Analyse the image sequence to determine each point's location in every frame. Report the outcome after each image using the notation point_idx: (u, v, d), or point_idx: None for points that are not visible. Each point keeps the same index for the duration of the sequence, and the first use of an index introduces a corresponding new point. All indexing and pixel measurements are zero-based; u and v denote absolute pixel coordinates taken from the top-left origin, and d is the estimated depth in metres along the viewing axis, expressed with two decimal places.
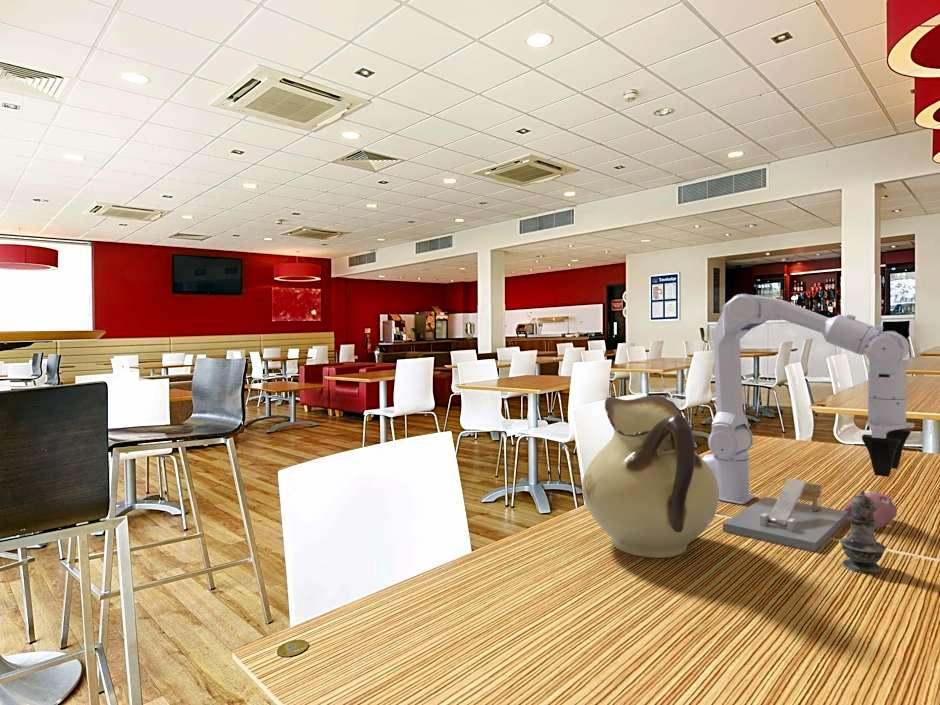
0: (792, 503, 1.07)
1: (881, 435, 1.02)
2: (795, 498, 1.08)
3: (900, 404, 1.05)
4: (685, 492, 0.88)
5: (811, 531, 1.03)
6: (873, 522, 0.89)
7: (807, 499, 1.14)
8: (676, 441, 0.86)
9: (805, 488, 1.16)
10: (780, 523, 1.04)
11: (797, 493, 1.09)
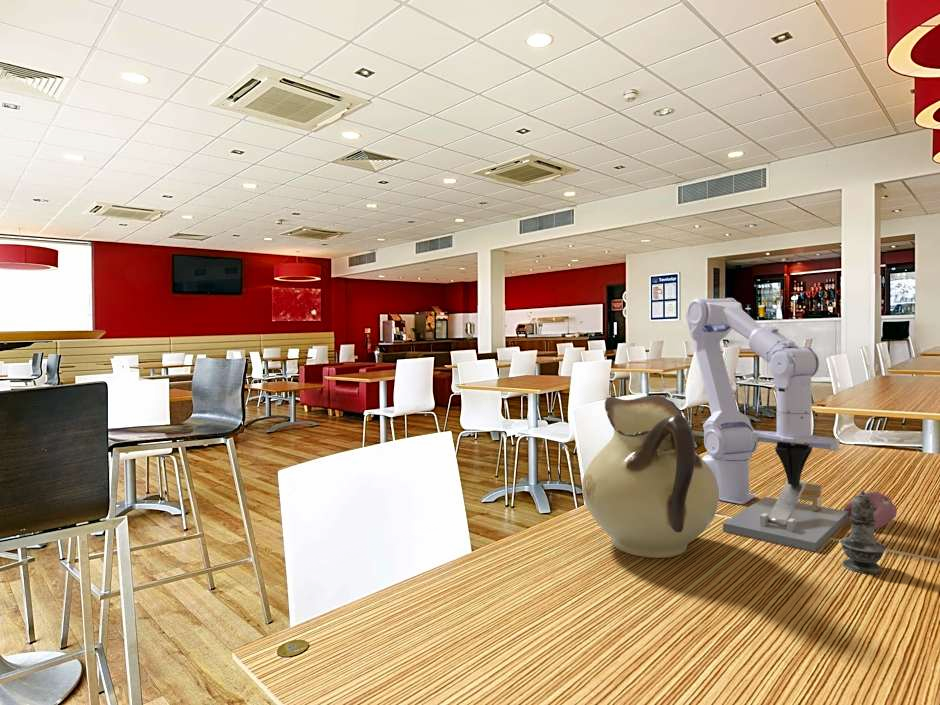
0: (792, 503, 1.07)
1: None
2: (795, 498, 1.08)
3: (780, 417, 1.10)
4: (685, 492, 0.88)
5: (811, 531, 1.03)
6: (873, 522, 0.89)
7: (807, 499, 1.14)
8: (676, 441, 0.86)
9: (805, 488, 1.16)
10: (780, 523, 1.04)
11: (797, 493, 1.09)
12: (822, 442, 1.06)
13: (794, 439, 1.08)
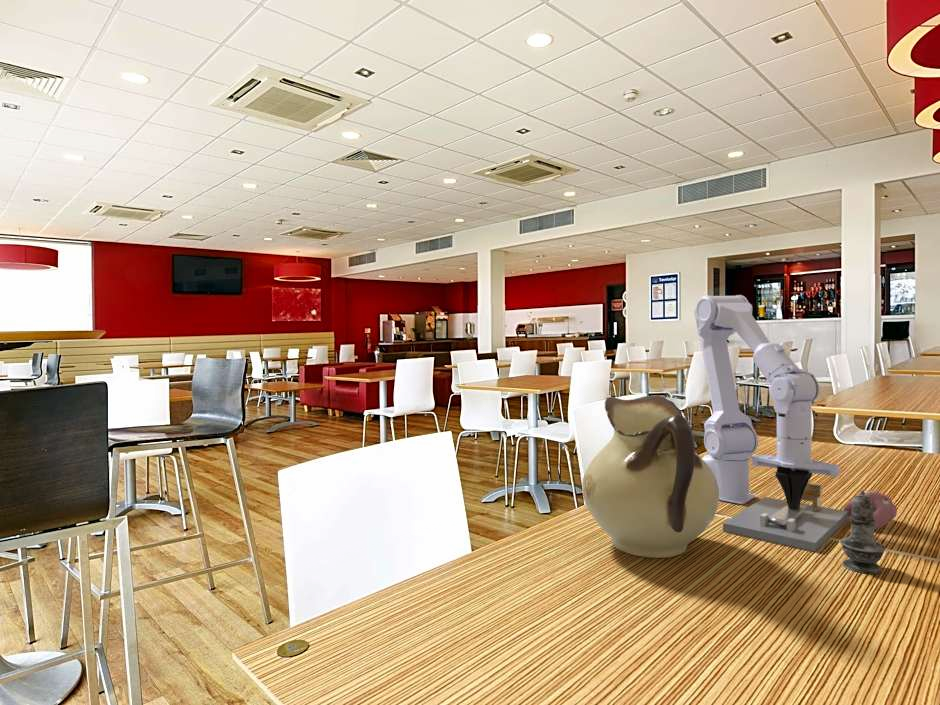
0: (793, 514, 1.08)
1: None
2: (796, 512, 1.09)
3: (780, 442, 1.10)
4: (685, 492, 0.88)
5: (811, 531, 1.03)
6: (873, 522, 0.89)
7: (807, 499, 1.14)
8: (676, 441, 0.86)
9: (805, 488, 1.16)
10: (780, 522, 1.04)
11: (798, 510, 1.10)
12: (822, 468, 1.07)
13: (794, 465, 1.08)
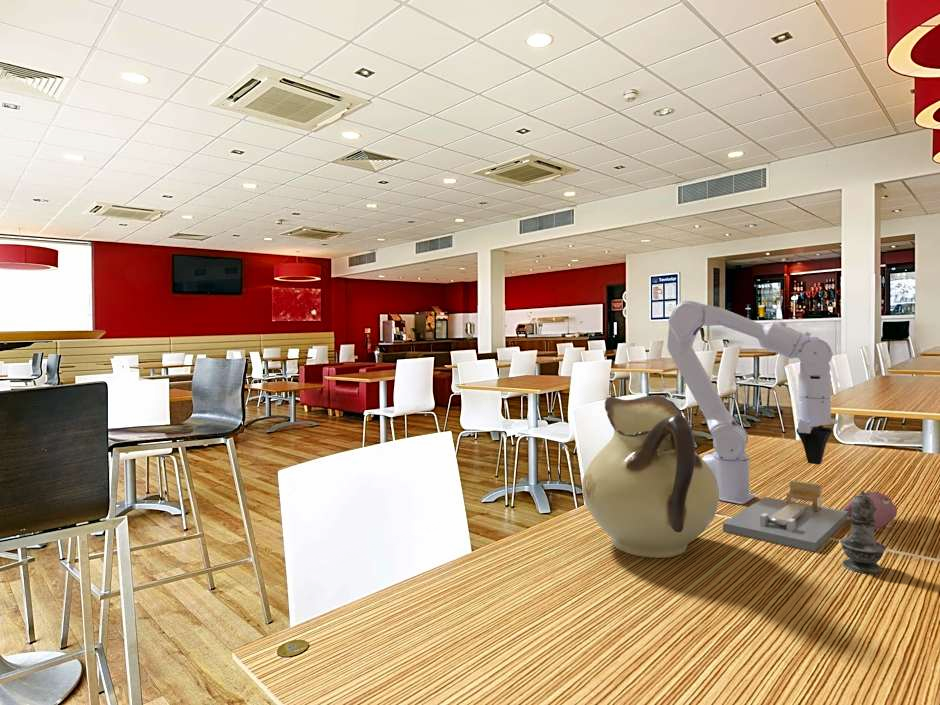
0: (793, 514, 1.08)
1: (806, 430, 1.15)
2: (796, 512, 1.09)
3: (824, 402, 1.17)
4: (685, 492, 0.88)
5: (811, 531, 1.03)
6: (873, 522, 0.89)
7: (807, 499, 1.14)
8: (676, 441, 0.86)
9: (805, 488, 1.16)
10: (780, 522, 1.04)
11: (798, 510, 1.10)
12: None
13: (833, 420, 1.19)
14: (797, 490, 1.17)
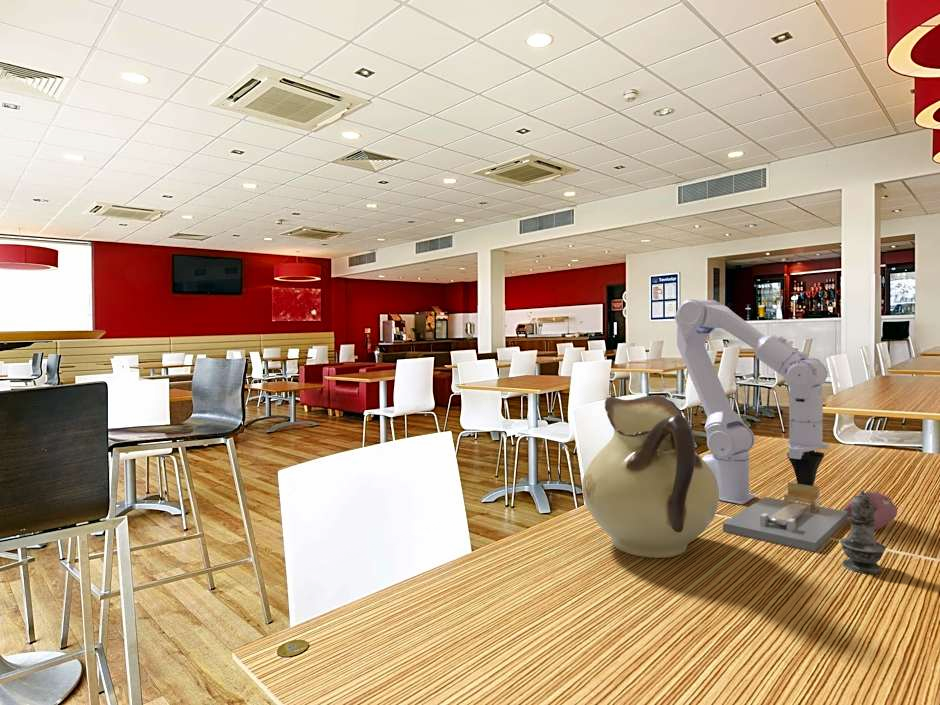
0: (793, 514, 1.08)
1: (797, 456, 1.11)
2: (796, 512, 1.09)
3: (816, 427, 1.13)
4: (685, 492, 0.88)
5: (811, 531, 1.03)
6: (873, 522, 0.89)
7: (805, 501, 1.13)
8: (676, 441, 0.86)
9: (803, 489, 1.15)
10: (780, 522, 1.04)
11: (798, 510, 1.10)
12: None
13: None
14: (795, 491, 1.16)
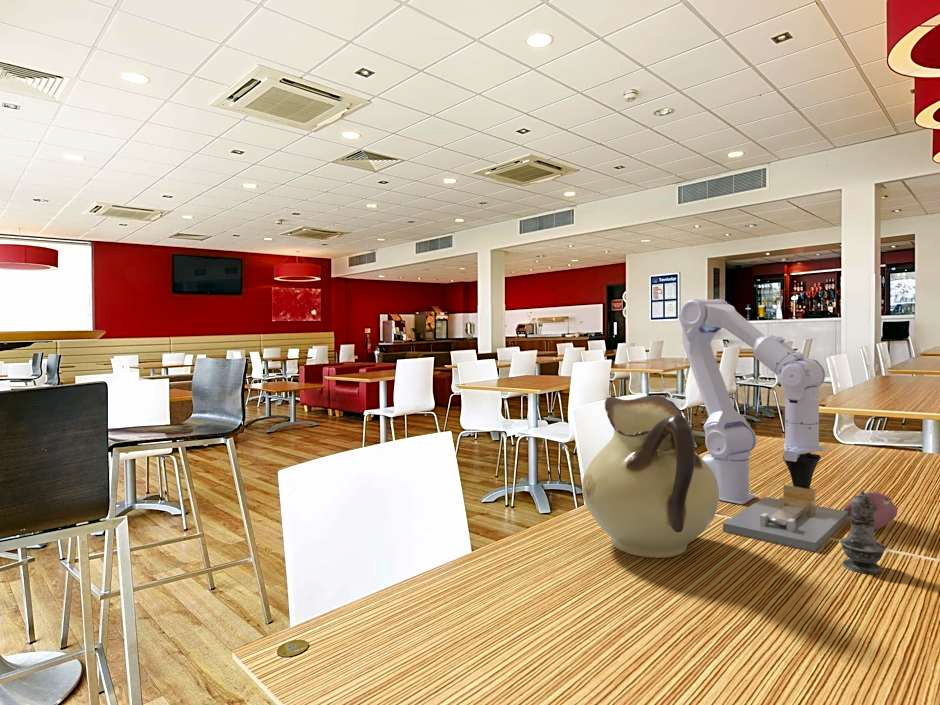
0: (793, 514, 1.08)
1: (792, 458, 1.09)
2: (796, 512, 1.09)
3: (812, 428, 1.12)
4: (685, 492, 0.88)
5: (811, 531, 1.03)
6: (873, 522, 0.89)
7: (801, 504, 1.11)
8: (676, 441, 0.86)
9: (799, 492, 1.13)
10: (780, 522, 1.04)
11: (798, 510, 1.10)
12: None
13: None
14: (791, 494, 1.15)
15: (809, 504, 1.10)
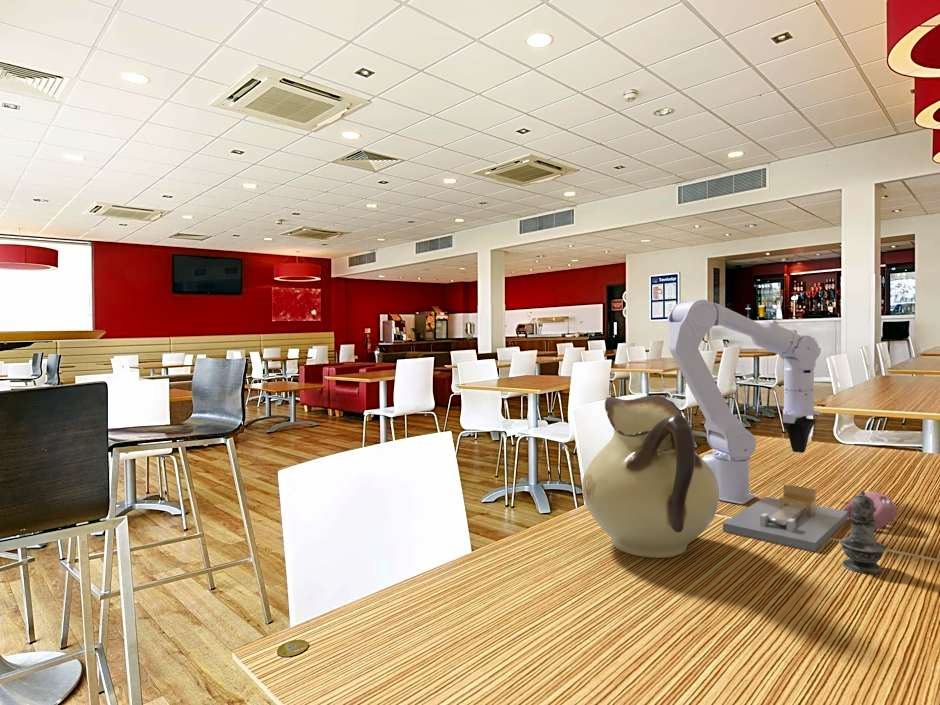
0: (793, 514, 1.08)
1: (790, 420, 1.24)
2: (796, 512, 1.09)
3: (808, 395, 1.26)
4: (685, 492, 0.88)
5: (811, 531, 1.03)
6: (873, 522, 0.89)
7: (801, 504, 1.11)
8: (676, 441, 0.86)
9: (799, 492, 1.13)
10: (780, 522, 1.04)
11: (798, 510, 1.10)
12: None
13: None
14: (791, 494, 1.15)
15: (809, 504, 1.10)
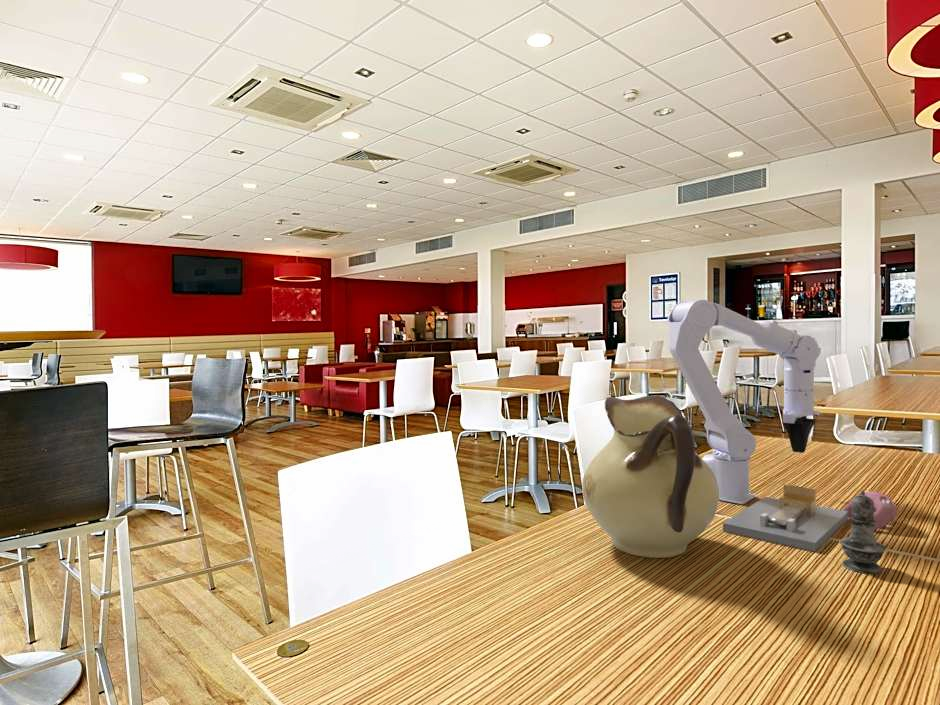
0: (793, 514, 1.08)
1: (790, 420, 1.24)
2: (796, 512, 1.09)
3: (808, 395, 1.26)
4: (685, 492, 0.88)
5: (811, 531, 1.03)
6: (873, 522, 0.89)
7: (801, 504, 1.11)
8: (676, 441, 0.86)
9: (799, 492, 1.13)
10: (780, 522, 1.04)
11: (798, 510, 1.10)
12: None
13: None
14: (791, 494, 1.15)
15: (809, 504, 1.10)
